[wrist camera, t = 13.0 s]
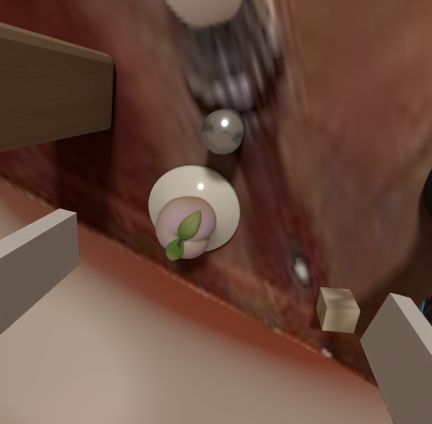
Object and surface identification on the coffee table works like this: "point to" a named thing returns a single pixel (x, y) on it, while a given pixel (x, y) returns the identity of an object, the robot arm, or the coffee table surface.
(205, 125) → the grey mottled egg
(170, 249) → the decorative fruit
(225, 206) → the cream plate
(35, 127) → the block
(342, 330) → the birch cube
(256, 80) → the coffee table surface
